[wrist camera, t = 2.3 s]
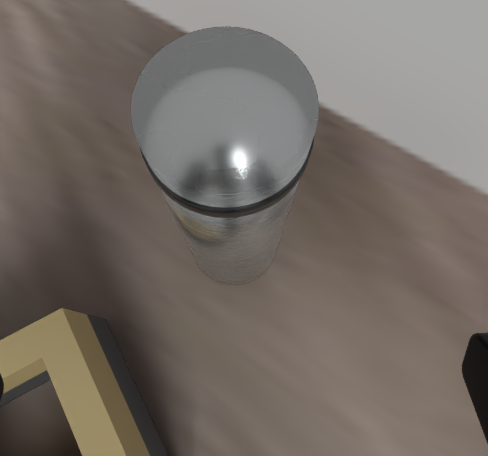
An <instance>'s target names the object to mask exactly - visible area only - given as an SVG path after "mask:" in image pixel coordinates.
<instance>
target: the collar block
mask: <svg viewBox="0 0 488 456" xmlns="http://www.w3.org/2000/svg"><path fill="white" fill-rule="evenodd" d="M0 373H1V376H2V378H3V382H4V391H3V396H2V399H1V402H0V407H1V406H3V405H5V404H6V403H8V402H10V401H12V400H14V399H16V398H17V397H19V396H21V395H23V394H25V393H27V392H28V391H30V390H32V389H34V388H36V387H37V386H39V385H41V384H43V383H45V382H47V381H48V380H50V379H51V381H52V383H53V385H54V388H55V390H56V393H57V395H58V398H59V400H60V402H61V405H62V407H63V410H64V412H65V415H66V417H67V420H68V422H69V424H70V427H71V429H72V432H73V434H74V437H75V439H76V441H77V444H78V446H79V449H80V451H81V454H82V456H168V455H167V452H166V450H165V448H164V446H163V444H162V442H161V439H160V437H159V435H158V433H157V431H156V429H155V426H154V424H153V422H152V420H151V418H150V415H149V413H148V411H147V409H146V407H145V405H144V402H143V400H142V398H141V396H140V394H139V392H138V389H137V387H136V385H135V383H134V381H133V378H132V376H131V374H130V372H129V370H128V368H127V365H126V363H125V361H124V359H123V357H122V354H121V352H120V350H119V348H118V346H117V344H116V341H115V339H114V337H113V335H112V333H111V331H110V328H109V326H108V324H107V322H106V320H105V319H102V318H99V317H95V316H91V315H87V314H83V313H80V312H76V311H72V310H68V309H64V308H61V309H59V310H57V311H55V312H53V313H51V314H49V315H47V316H45V317H43V318H41V319H40V320H38V321H36V322H34V323H32V324H30V325H28V326H26V327H24V328H22V329H21V330H19V331H17V332H15V333H13V334H11V335H9V336H7V337H5V338H3V339H2V340H0Z"/></svg>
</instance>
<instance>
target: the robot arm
mask: <svg viewBox="0 0 488 456" xmlns="http://www.w3.org/2000/svg"><path fill="white" fill-rule="evenodd" d="M462 374H463V378H464V381H465V383H466V386H467V389H468V392H469V394H470V397H471V400H472V403H473V405H474V408H475V411H476V413H477V416H478V419H479V422H480V424H481V427H482V430H483V433H484V435H485V438H486V441H487V443H488V333H475V334H473V335H472V336H471V338H470V340H469V343H468V347H467V350H466V353H465V356H464V360H463V363H462ZM3 391H4V382H3V378H2V376H1V373H0V402H1V399H2V396H3Z"/></svg>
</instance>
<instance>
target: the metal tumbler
mask: <svg viewBox="0 0 488 456" xmlns="http://www.w3.org/2000/svg"><path fill="white" fill-rule="evenodd" d="M318 118H319V102H318V95H317V91H316V87H315V84H314V82H313V79H312V77H311V75H310V73H309V71H308V70H307V68H306V66H305V65H304V64H303V62H302V61H301V60H300V59H299V58H298V57H297V55H296V54H294V53H293V52H292V51H291V50H290V49H289V48H288V47H286V46H285V45H283V44H282V43H281V42H279V41H277V40H275V39H274V38H272V37H270V36H267V35H265V34H263V33H260V32H257V31H253V30H250V29H245V28H239V27H213V28H206V29H202V30H198V31H194V32H191V33H189V34H186V35H183V36H181V37H179V38H177V39H176V40H174V41H172V42H170V43H169V44H167V45H166V46H165V47H163V48H162V49H161V50H160V51H159V52H157V53H156V54H155V55H154V56H153V57H152V58H151V60H150V61H149V62H148V63H147V64H146V66H145V67H144V69H143V70H142V72H141V74H140V76H139V78H138V80H137V82H136V85H135V88H134V91H133V95H132V100H131V121H132V127H133V130H134V134H135V137H136V139H137V141H138V144H139V146H140V149H141V153H142V156H143V158H144V161H145V163H146V165H147V167H148V169H149V171H150V173H151V175H152V177H153V178H154V180H155V182H156V183H157V185H158V186H159V187H160V189H161V191H162V193H163V195H164V197H165V199H166V201H167V203H168V205H169V207H170V209H171V211H172V213H173V215H174V217H175V219H176V221H177V223H178V225H179V227H180V230H181V232H182V234H183V236H184V238H185V240H186V242H187V244H188V246H189V248H190V250H191V252H192V254H193V256H194V258H195V260H196V262H197V264H198V266H199V267H200V268H201V270H202V271H203V272H204V273H205V274H206V275H207V276H209V277H210V278H212V279H213V280H215V281H217V282H220V283H223V284H228V285H240V284H245V283H248V282H251V281H253V280H255V279H257V278H258V277H260V276H261V275H262V274H263V273H265V271H266V270H267V269H268V268H269V266H270V265H271V263H272V261H273V259H274V256H275V253H276V250H277V247H278V244H279V241H280V238H281V235H282V232H283V229H284V226H285V223H286V220H287V217H288V214H289V211H290V208H291V205H292V201H293V198H294V195H295V192H296V189H297V186H298V183H299V180H300V178H301V176H302V174H303V172H304V170H305V168H306V165H307V162H308V159H309V156H310V153H311V150H312V147H313V142H314V134H315V131H316V128H317V123H318Z"/></svg>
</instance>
